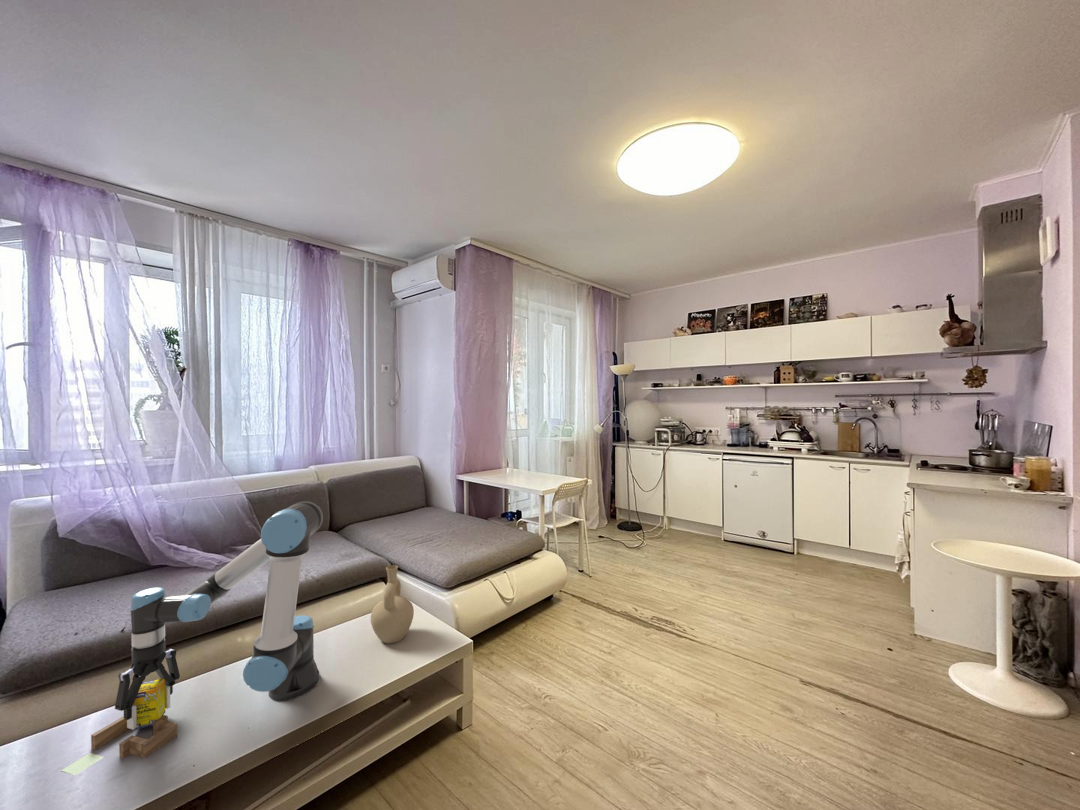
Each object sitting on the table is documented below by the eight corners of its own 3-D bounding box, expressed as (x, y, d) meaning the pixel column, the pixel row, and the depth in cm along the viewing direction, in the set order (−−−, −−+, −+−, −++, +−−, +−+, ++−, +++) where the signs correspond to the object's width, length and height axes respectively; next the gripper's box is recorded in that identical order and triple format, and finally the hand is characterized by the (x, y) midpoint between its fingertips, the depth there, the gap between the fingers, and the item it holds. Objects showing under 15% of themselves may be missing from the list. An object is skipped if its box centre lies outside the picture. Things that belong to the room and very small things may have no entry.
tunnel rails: (182, 733, 125) (182, 719, 125) (138, 763, 115) (138, 749, 115) (137, 720, 131) (137, 707, 130) (91, 749, 120) (91, 734, 120)
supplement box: (131, 731, 124) (131, 694, 124) (141, 717, 130) (141, 681, 130) (157, 725, 127) (157, 688, 127) (166, 711, 132) (165, 676, 132)
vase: (377, 630, 181) (376, 560, 181) (417, 628, 183) (416, 558, 183) (365, 653, 165) (364, 576, 165) (409, 650, 166) (408, 574, 166)
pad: (114, 760, 116) (114, 760, 116) (86, 779, 110) (86, 779, 110) (90, 753, 119) (90, 752, 119) (61, 770, 113) (61, 770, 113)
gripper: (177, 623, 139) (178, 692, 139) (95, 660, 119) (96, 740, 119) (194, 626, 137) (195, 696, 137) (113, 664, 117) (114, 746, 117)
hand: (149, 717), depth 128 cm, fingers closed on supplement box, 8 cm apart
